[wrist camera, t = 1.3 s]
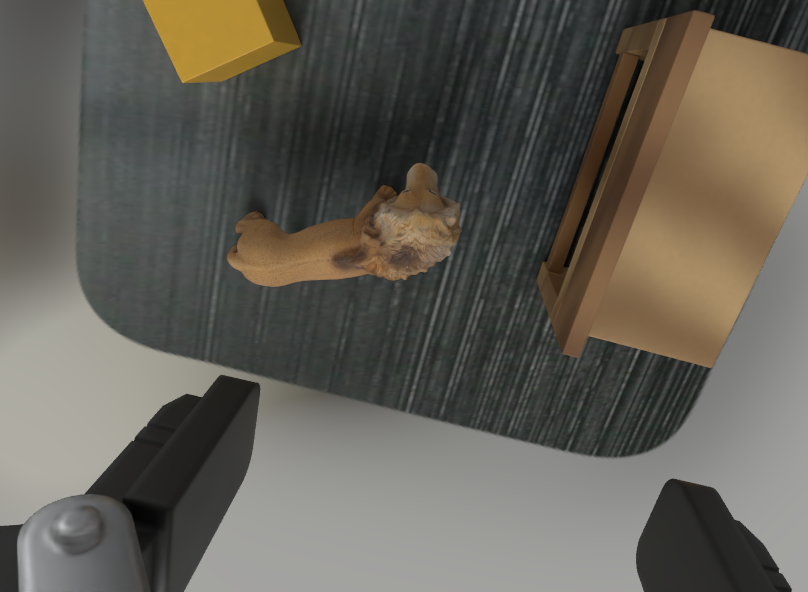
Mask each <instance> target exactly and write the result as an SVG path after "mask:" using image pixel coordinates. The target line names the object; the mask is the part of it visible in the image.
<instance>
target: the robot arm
mask: <svg viewBox="0 0 808 592" xmlns="http://www.w3.org/2000/svg"><path fill="white" fill-rule="evenodd" d="M259 396H260V385H259V383H255V382H251V381H247V380H242V379H238V378H233V377H229V376H225V375H220V376H219V377H218V378H217V379H216V381H215V382H214V383H213V384H212V386H211V387H210V388H209V389H208V391H207V392H206V393H205V394H204V396H203V397H198V396H194V395H189V394H185V395H183V396H181V397H180V398H178V399H175V400H174V401H172V402H170V403H168V404H166V405H164V406H162V408H161V409H160V410H159V411H158V412H157V413H156V414H155V415H154V417H153V418H152V419H151V420H150V421H149V423H148V424H147V427H144V428H143V429H142V430H141V431H140V432H139V433H138V435H137V436H136V437H135V440H134V441H132V442H130V444H129V445H128V446H127V447H126V448H125V449H124V450H123V451H122V453H121V454H120V455H119V456H118V457H117V458H116V459H115V460H114V461H113V463H112V464H111V465H110V466H109V467H108V468H107V469H106V471H105V472H104V473H103V474H102V475H101V476H100V477H99V478H98V479H97V481H96V482H95V483H94V484H93V485H92V486H91V487H90V488H89V490H88V491H87V492H86V493H85V494H84V495H77V496H71V497H67V498H63V499H60V500H57V501H55V502H52V503H50V504H48V505H46V506H44V507H43V508H41V509H40V510H38V511H37V512H35V513H34V514H33V515H32V516H31V517H30V518H29V519H28V520H27V521H26V522H25V523H24V524H21V525H10V526H0V592H184V590H185V589H186V586H187V585H188V583H189V581H190V579H191V577H192V575H193V573H194V572H195V570H196V568H197V566H198V564H199V562H200V560H201V559H202V557H203V555H204V553H205V551H206V549H207V547H208V545H209V544H210V542H211V540H212V538H213V536H214V534H215V532H216V531H217V529H218V527H219V525H220V523H221V521H222V519H223V517H224V515H225V514H226V512H227V510H228V508H229V506H230V504H231V502H232V501H233V499H234V497H235V495H236V493H237V491H238V489H239V487H240V486H241V484H242V482H243V480H244V477H245V475H246V472H247V469H248V466H249V463H250V460H251V455H252V449H253V443H254V435H255V427H256V420H257V412H258V404H259ZM636 564H637V572H638V575H639V578H640V581H641V584H642V587H643V590H644V592H791V590H792V589H791V587H790V586H789V584H788V582H787V581H786V579H785V578H784V576H783V575H782V574H781V573H779V568H778V567H777V565H776V563H775V562H774V560H773V559H772V557H771V556H770V554H769V552H768V551H767V549H766V547H765V546H764V545H763V543H762V542H760V540H758V539H757V538H756V537H755V536H754V535H753V534H752V533H751V532H750V531H749V530H748V529H747V528H746V527H745V526H744V525H743V524H742V523H741V522H740V521H737V520H734V518H733V517H732V515H731V513H730V512H729V510H728V508H727V507H726V505H725V503H724V502H723V500H722V499H721V497H720V495H719V493H718V492H717V491H716V490H715V489H714V488H712V487H707V486H703V485H699V484H695V483H690V482H686V481H681V480H677V479H670V480H668V481H667V482H666V483H665V485H664V487H663V488H662V491H661V493H660V495H659V497H658V499H657V502H656V504H655V506H654V508H653V511H652V512H651V515H650V517H649V519H648V521H647V523H646V526H645V528H644V530H643V533H642V535H641V537H640V539H639V542H638V546H637V553H636Z"/></svg>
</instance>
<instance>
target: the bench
mask: <svg viewBox="0 0 808 592" xmlns="http://www.w3.org/2000/svg"><path fill="white" fill-rule="evenodd" d="M714 18H715V15H713V14H709V13H706V12H702V11H698V10H693V11H689V12H686V13H682V14H678V15H674V16H671V17H668V18H664V19H660V20H656V21H652V22H648V23H645V24H641V25H637V26H634V27H630V28H626V29H624V30H623V32H622V35H621V38H620V41H619V44H618V47H617V50H616V54H619V58H618V61H617V64H616V66H615V69H614V72H613V75H612V78H611V81H610V84H609V86H608V89H607V92H606V95H605V98H604V101H603V103H602V106H601V109H600V112H599V115H598V118H597V121H596V123H595V126H594V129H593V132H592V135H591V138H590V141H589V143H588V146H587V149H586V152H585V155H584V158H583V160H582V163H581V166H580V169H579V172H578V175H577V178H576V180H575V183H574V186H573V189H572V192H571V195H570V198H569V200H568V203H567V206H566V209H565V212H564V215H563V217H562V220H561V223H560V226H559V229H558V232H557V235H556V237H555V240H554V243H553V246H552V249H551V252H550V254H549V257H548V260H547V262H542V265H541V268H540V271H539V274H538V276H537V282H538V285H539V288H540V291H541V294H542V297H543V299H544V302H545V305H546V308H547V311H548V314H549V317H550V319H551V322H552V325H553V328H554V331H555V334H556V337H557V340H558V343H559V346H560V348H561V351H562V353H563V354H565V355H569V356H573V357H577V358H579V357H580V355H581V352H582V350H583V347H584V345H585V342H586V340H587V337H588V336H592V337H595V338H599V339H603V340H607V341H611V342H615V343H618V344H622V345H626V346H630V347H634V348H637V349H641V350H645V351H649V352H653V353H656V354H660V355H664V356H668V357H672V358H675V359H679V360H683V361H687V362H691V363H694V364H698V365H702V366H706V367H710V368H712V367H713V365H714V363H715V361H716V359H717V357H718V355H719V353H720V351H721V349H722V347H723V345H724V343H725V341H726V339H727V337H728V335H729V333H730V331H731V329H732V327H733V325H734V323H735V321H736V319H737V317H738V314H739V312H740V310H741V308H742V306H743V304H744V302H745V300H746V298H747V296H748V294H749V292H750V290H751V288H752V286H753V284H754V282H755V280H756V278H757V276H758V274H759V272H760V270H761V268H762V266H763V264H764V262H765V260H766V258H767V256H768V254H769V252H770V250H771V248H772V246H773V244H774V242H775V240H776V238H777V236H778V234H779V232H780V230H781V228H782V226H783V224H784V222H785V220H786V218H787V216H788V213H789V212H790V210H791V208H792V206H793V204H794V202H795V200H796V197H797V196H798V194H799V192H800V189H801V187H802V185H803V183H804V181H805V179H806V177H807V175H808V54H807V53H803V52H799V51H796V50H792V49H788V48H784V47H780V46H776V45H773V44H769V43H765V42H761V41H757V40H753V39H750V38H746V37H742V36H738V35H734V34H730V33H727V32H723V31H719V30H715V29H711V26H712V23H713V21H714ZM638 60H642V61H644V64H643V67H642V69H641V72H640V75H639V78H638V80H637V83H636V86H635V89H634V91H633V94H632V97H631V99H630V102H629V105H628V108H627V110H626V113H625V116H624V119H623V121H622V124H621V127H620V129H619V132H618V135H617V138H616V140H615V143H614V146H613V148H612V151H611V154H610V157H609V159H608V162H607V165H606V168H605V170H604V173H603V176H602V178H601V181H600V184H599V187H598V189H597V192H596V195H595V198H594V200H593V203H592V206H591V208H590V211H589V214H588V217H587V219H586V222H585V225H584V228H583V230H582V233H581V236H580V238H579V241H578V244H577V247H576V249H575V252H574V255H573V257H572V260H571V263H570V266H569V268H566V267H563V266H564V264H565V261H566V258H567V255H568V253H569V250H570V247H571V244H572V242H573V239H574V236H575V233H576V231H577V228H578V225H579V222H580V220H581V217H582V214H583V211H584V209H585V206H586V203H587V200H588V198H589V195H590V192H591V189H592V186H593V184H594V181H595V178H596V175H597V173H598V170H599V167H600V164H601V162H602V159H603V156H604V153H605V151H606V148H607V145H608V142H609V140H610V137H611V134H612V131H613V129H614V126H615V123H616V120H617V118H618V115H619V112H620V109H621V107H622V104H623V101H624V98H625V96H626V93H627V90H628V87H629V85H630V82H631V79H632V76H633V74H634V71H635V68H636V65H637V63H638Z"/></svg>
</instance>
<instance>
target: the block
mask: <svg viewBox="0 0 808 592" xmlns="http://www.w3.org/2000/svg"><path fill="white" fill-rule="evenodd" d="M143 2H144V4H145V6H146V8H147V10H148V12H149V14H150V16H151V18H152V20H153V23H154V25H155V27H156V29H157V31H158V33H159V35H160V37H161V39H162V41H163V44H164V46H165V48H166V50H167V52H168V54H169V56H170V58H171V60H172V62H173V64H174V67H175V69H176V71H177V73H178V75H179V77H180V79H181V81H182V83H192V82H219V81H224V80H227V79H229V78H231V77H233V76H236V75H238V74H240V73H242V72H245V71H247V70H249V69H251V68H253V67H256V66H258V65H260V64H262V63H265V62H267V61H269V60H271V59H274V58H276V57H278V56H280V55H283V54H285V53H287V52H289V51H292V50H294V49H296V48H298V47H301V46H302V45H301V42H300V40H299V38H298V35H297V33H296V30H295V28H294V25H293V23H292V20H291V18H290V16H289V13H288V11H287V8H286V6H285V3H284V1H283V0H143Z"/></svg>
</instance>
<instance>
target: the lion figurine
mask: <svg viewBox="0 0 808 592" xmlns="http://www.w3.org/2000/svg"><path fill="white" fill-rule="evenodd" d="M396 195H397V193H396V192H395V191H394V190H393V188H392V187H389V186H386V185H383V186H381V187H380V189H379V190H378V191H377V193H376V194H375V195H374V196H373V198H372V200H371V201H369V202H368V203H367V204H366V205H365V207H364V208H363V209H362V210H361V212H360V213H359V214H358V215H357V216H356V218H346V219H337V220H333V221H328V222H324V223H321V224H318V225H314V226H311V227H308V228H306V229H303V230H301V231H299V232H297V233H293V234H287V233H285V232H284V231H283V230H282V229H281V228H280V227H279V226H278V225H277V224H275V223H273V222H271V221H268V220H266V219H265V218H264V216H263V215H262V214H261V213H259V212H257V211H254V212H251V213H249V214H247V215H246V216H245V217H244V218H243V219H242V220H241V221H239V222H238V223H237V225H236V228H235V229H236V233H238V234H242V235H241V237H240V238H239V240H238V243H237V246H233V247H232V248H231V249H230V250H229V252H228V254H227V260H228V262H229V264H230V265H231V266H232V267H233V268H235V269H237V270H240V271H241V272H242V273H243V274H244V276H245V277H246V278H247V279H248V280H250V281H251V282H253V283H255V284H258V285H264V286H271V287H277V286H283V285H287V284H290V283H294V282H299V281H306V280H326V279H343V278H349V277H355V276H360V275H364V274H372V275H376V276H377V277H379V278H381V277H382V278H385V279H389V280H393V281H394V280H398V279H401V278H402V279H404V280H407V279H408V277H409V276H410V275H416V274H418V273H419V272H427V270H428V268H429V267H430V266H434V265H435V264H436V262H440V261H442V260H443V259H444V258H445V257H446V256H449V255H451V253H452V251H451V248H452V247H453V246H454V244H455V243H456V241H457V240H458V238H459V234H460V232H461V231H462V229H461V228H460V226H459V216H460V203H456V202H455V201H453V200H449V199H448V198H446V197H444V196H440V194H439V191H438V189H437V174H436V172H435V171H434V170H432V169H430V167H429V166H428V165H425V164H422V163H417V164H415V165H413V166H412V168H411V169H410V170H409V172H408V174H407V185H406V189H405V190H404V191H402V192H401V193H400V195H398V196H396Z"/></svg>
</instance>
